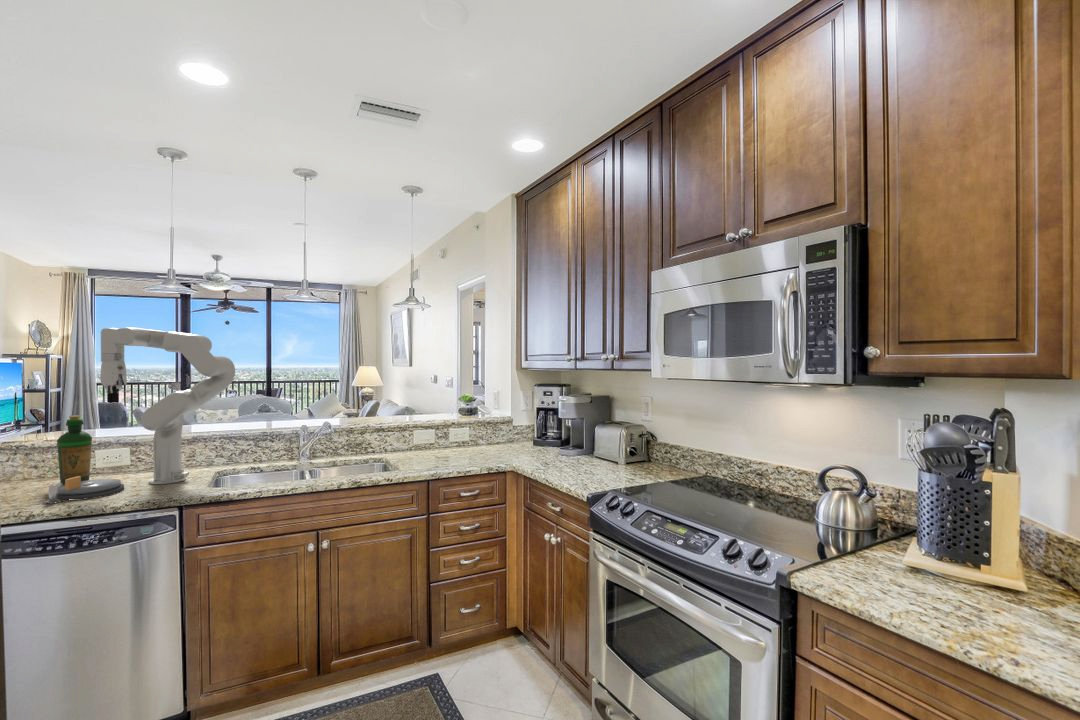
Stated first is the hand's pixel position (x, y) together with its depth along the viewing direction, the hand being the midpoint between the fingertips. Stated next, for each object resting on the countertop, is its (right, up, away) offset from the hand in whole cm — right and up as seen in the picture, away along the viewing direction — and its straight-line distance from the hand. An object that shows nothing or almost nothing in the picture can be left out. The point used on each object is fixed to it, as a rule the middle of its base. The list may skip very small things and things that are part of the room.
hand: (112, 402), depth 215 cm
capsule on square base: (+3, -33, -29) cm, 44 cm away
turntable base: (+4, -33, -17) cm, 37 cm away
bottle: (-12, -33, -4) cm, 36 cm away
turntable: (+4, -31, -17) cm, 36 cm away
